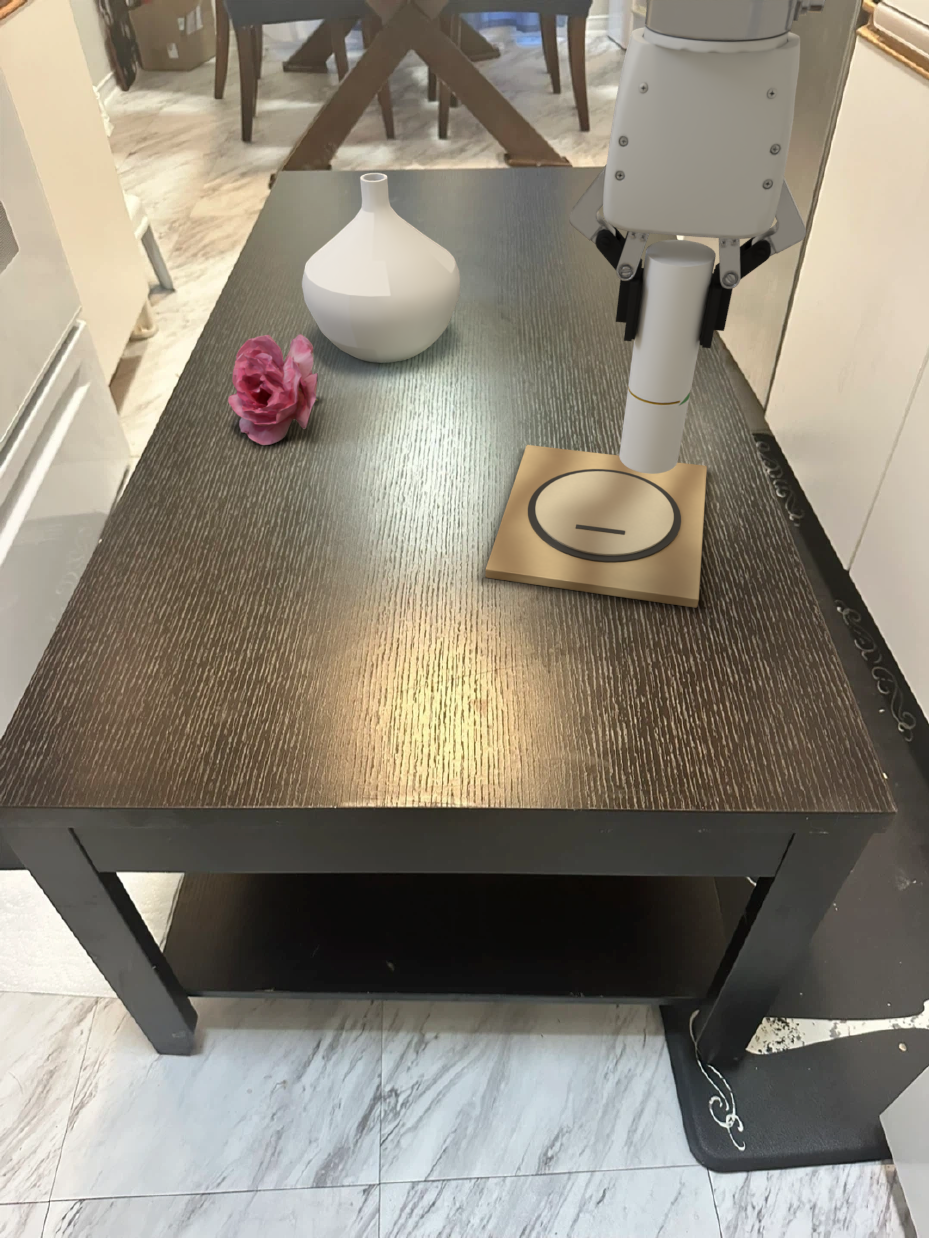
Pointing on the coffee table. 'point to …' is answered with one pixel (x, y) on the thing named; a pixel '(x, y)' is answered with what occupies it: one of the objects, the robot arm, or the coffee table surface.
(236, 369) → the flower
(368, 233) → the vase
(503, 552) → the drawing board
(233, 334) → the coffee table surface
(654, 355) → the tube
